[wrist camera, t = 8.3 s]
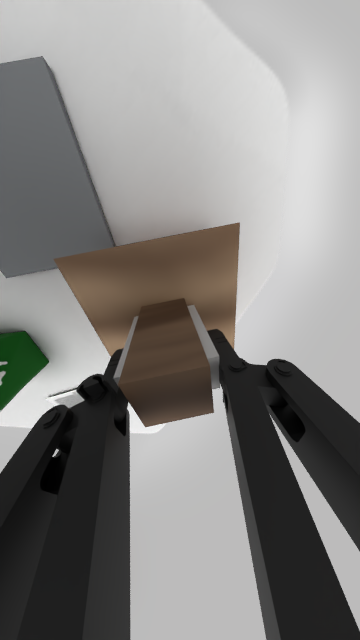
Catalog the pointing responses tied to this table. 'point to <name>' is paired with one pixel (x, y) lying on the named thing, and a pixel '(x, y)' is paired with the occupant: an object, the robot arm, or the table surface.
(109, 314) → the cover board
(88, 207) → the mat
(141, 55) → the table surface
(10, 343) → the milk carton
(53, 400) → the touchpad
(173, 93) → the table surface
